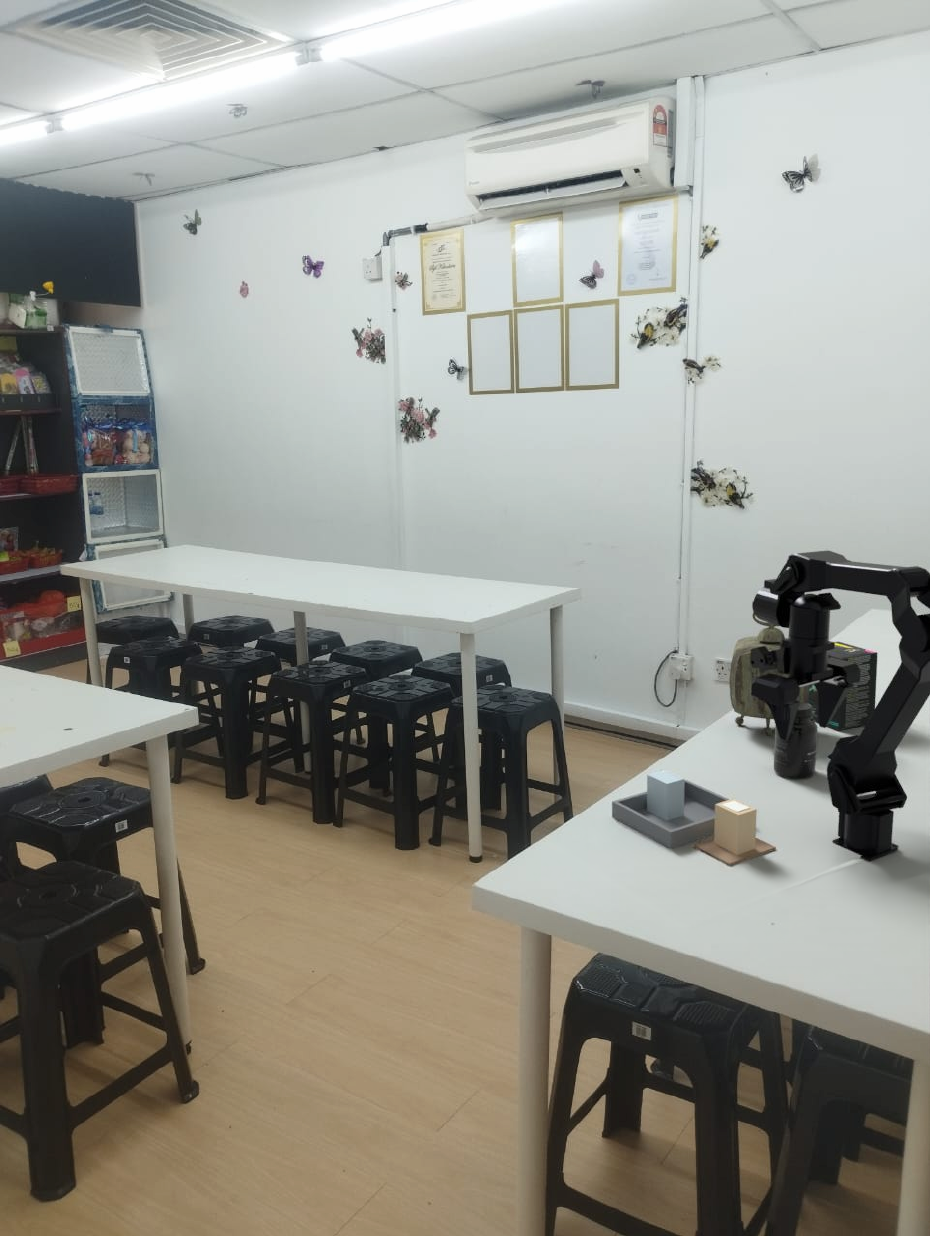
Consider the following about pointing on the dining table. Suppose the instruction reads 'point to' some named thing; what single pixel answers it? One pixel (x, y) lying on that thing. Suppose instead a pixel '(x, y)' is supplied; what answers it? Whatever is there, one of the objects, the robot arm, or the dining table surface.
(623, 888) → the dining table surface
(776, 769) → the supplement bottle
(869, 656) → the tampon box
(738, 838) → the carton tan
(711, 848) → the board
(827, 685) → the robot arm
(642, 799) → the bin
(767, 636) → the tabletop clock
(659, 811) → the carton blue
